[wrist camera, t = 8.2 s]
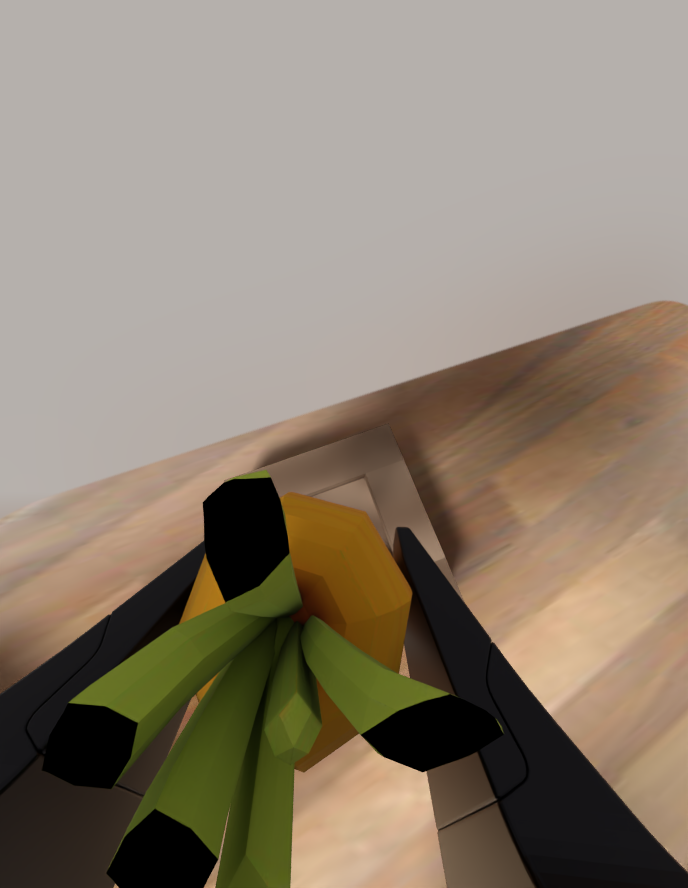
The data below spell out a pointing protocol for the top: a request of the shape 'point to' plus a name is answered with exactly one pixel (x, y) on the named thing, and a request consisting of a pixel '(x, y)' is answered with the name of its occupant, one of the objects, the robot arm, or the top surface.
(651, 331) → the top surface
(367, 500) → the walnut socket block
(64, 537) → the top surface
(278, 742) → the carrot
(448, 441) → the top surface
